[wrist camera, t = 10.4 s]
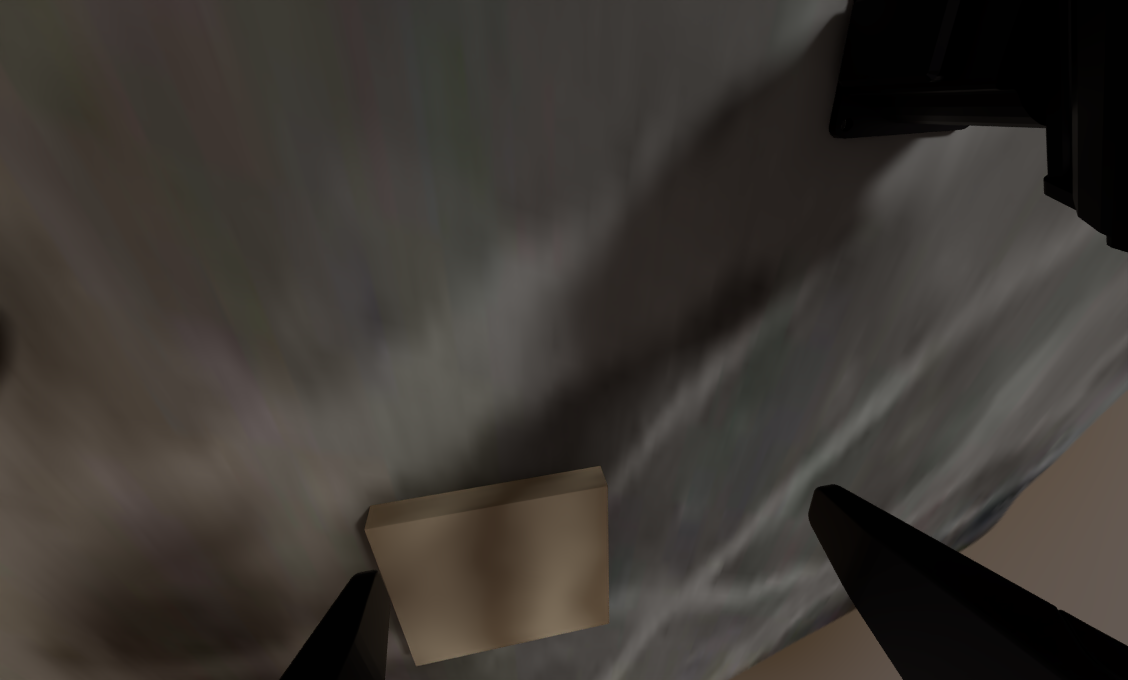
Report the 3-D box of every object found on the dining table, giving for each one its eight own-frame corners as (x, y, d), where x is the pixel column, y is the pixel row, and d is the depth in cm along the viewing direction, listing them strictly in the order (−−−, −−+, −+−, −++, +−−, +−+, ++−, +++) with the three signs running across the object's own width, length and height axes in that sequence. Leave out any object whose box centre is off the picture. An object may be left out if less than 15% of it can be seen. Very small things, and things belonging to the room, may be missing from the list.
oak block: (598, 459, 25) (607, 486, 23) (601, 593, 31) (609, 623, 29) (372, 498, 23) (364, 529, 22) (419, 632, 29) (416, 666, 27)
